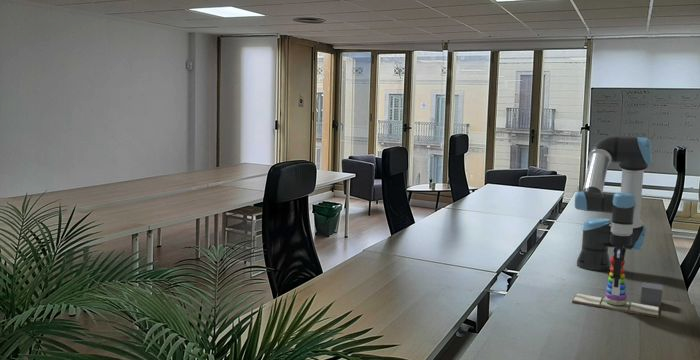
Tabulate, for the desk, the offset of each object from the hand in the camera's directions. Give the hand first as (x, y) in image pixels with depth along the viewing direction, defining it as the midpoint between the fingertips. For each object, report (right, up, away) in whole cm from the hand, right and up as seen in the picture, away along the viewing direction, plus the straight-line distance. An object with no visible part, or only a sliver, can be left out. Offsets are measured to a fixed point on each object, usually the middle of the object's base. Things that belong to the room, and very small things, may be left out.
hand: (616, 292), depth 224 cm
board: (0, -5, +1) cm, 5 cm away
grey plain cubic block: (+16, -5, +5) cm, 17 cm away
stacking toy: (0, -4, +1) cm, 4 cm away
